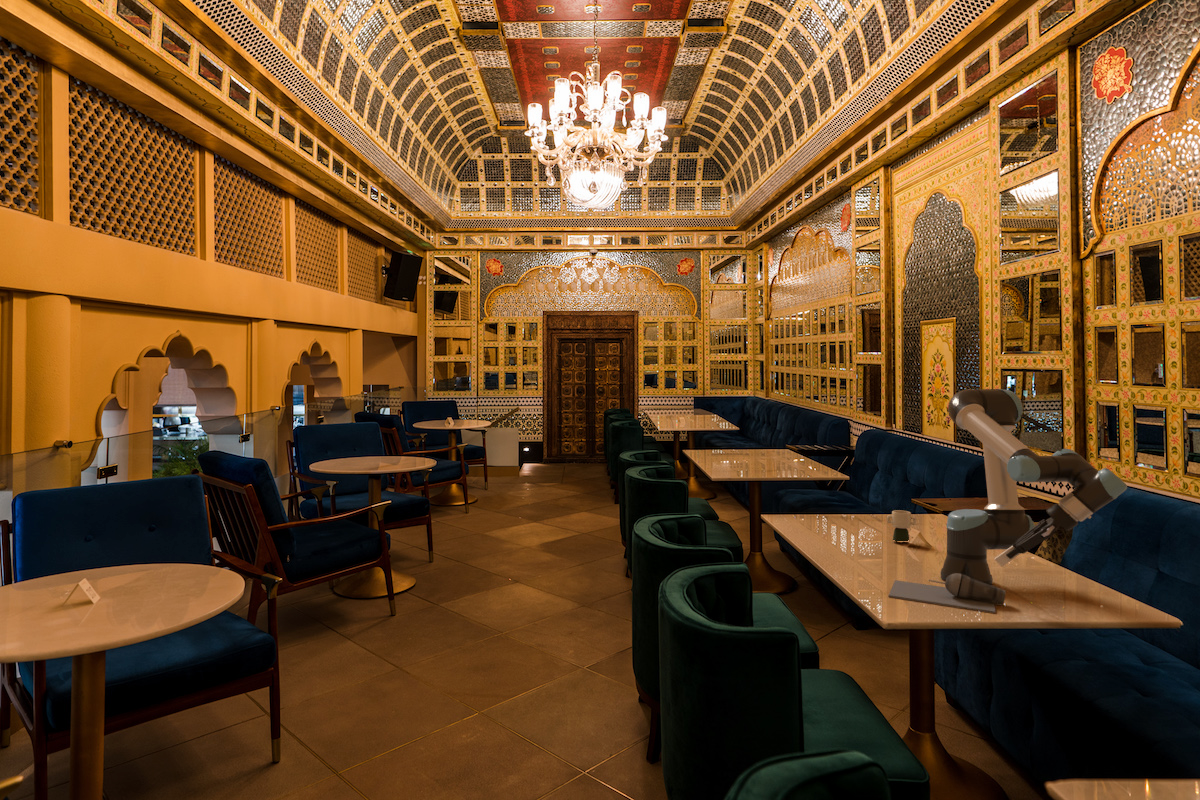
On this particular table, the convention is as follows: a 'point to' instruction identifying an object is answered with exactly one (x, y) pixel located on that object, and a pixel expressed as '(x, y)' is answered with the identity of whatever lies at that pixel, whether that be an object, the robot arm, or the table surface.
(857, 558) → the table surface
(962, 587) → the beverage cup
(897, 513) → the character mug
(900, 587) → the rubber mat
